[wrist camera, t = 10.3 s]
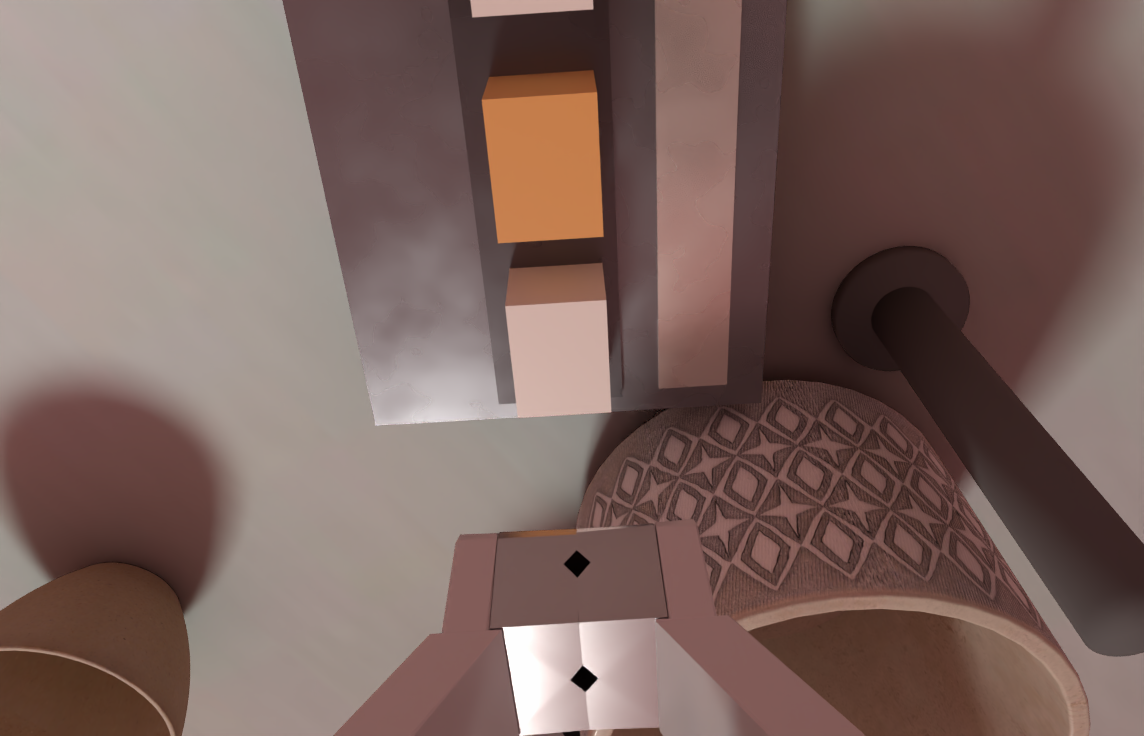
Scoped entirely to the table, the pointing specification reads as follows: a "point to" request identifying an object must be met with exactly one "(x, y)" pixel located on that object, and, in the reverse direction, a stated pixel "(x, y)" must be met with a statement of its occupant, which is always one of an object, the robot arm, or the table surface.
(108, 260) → the table surface
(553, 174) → the orange block
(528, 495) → the table surface
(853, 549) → the planter
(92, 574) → the flower pot
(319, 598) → the table surface
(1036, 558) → the post
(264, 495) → the table surface
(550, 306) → the pale pink brick
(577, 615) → the robot arm
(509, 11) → the light pink block
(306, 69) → the dark grey slotted tray
